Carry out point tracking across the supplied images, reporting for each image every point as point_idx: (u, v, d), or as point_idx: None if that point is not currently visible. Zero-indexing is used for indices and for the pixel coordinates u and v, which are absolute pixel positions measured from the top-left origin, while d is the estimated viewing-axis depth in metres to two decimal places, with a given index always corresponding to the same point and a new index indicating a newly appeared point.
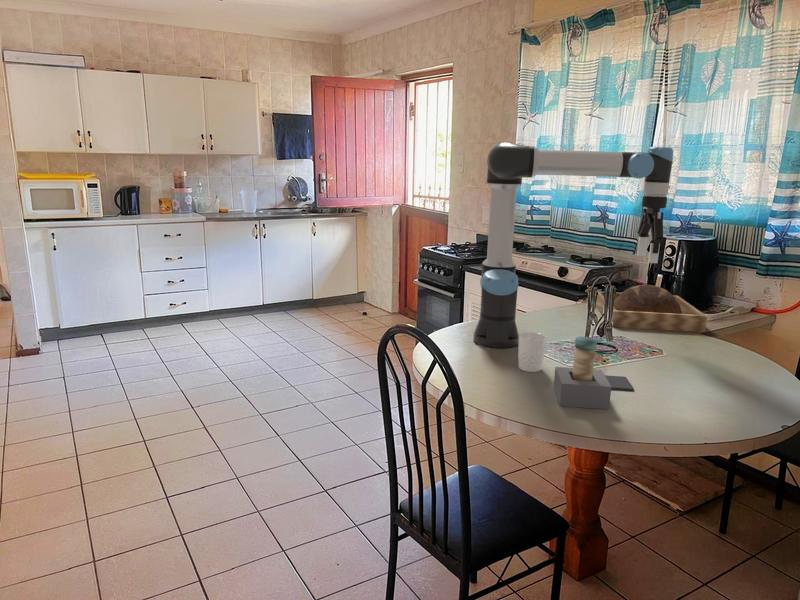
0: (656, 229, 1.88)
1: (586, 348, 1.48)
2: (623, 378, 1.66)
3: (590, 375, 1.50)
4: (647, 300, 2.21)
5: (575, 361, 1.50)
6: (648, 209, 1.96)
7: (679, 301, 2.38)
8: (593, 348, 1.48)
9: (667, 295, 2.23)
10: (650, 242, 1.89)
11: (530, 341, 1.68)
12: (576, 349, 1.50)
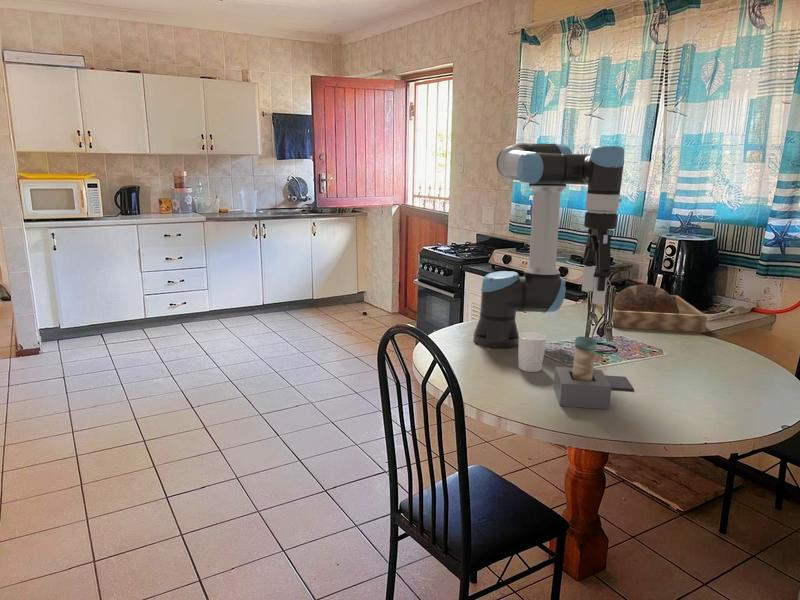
0: (601, 258, 1.37)
1: (586, 348, 1.48)
2: (623, 378, 1.66)
3: (590, 375, 1.50)
4: (644, 300, 2.21)
5: (575, 361, 1.50)
6: (593, 230, 1.45)
7: (679, 301, 2.38)
8: (593, 348, 1.48)
9: (664, 295, 2.23)
10: (593, 276, 1.38)
11: (530, 341, 1.68)
12: (576, 349, 1.50)
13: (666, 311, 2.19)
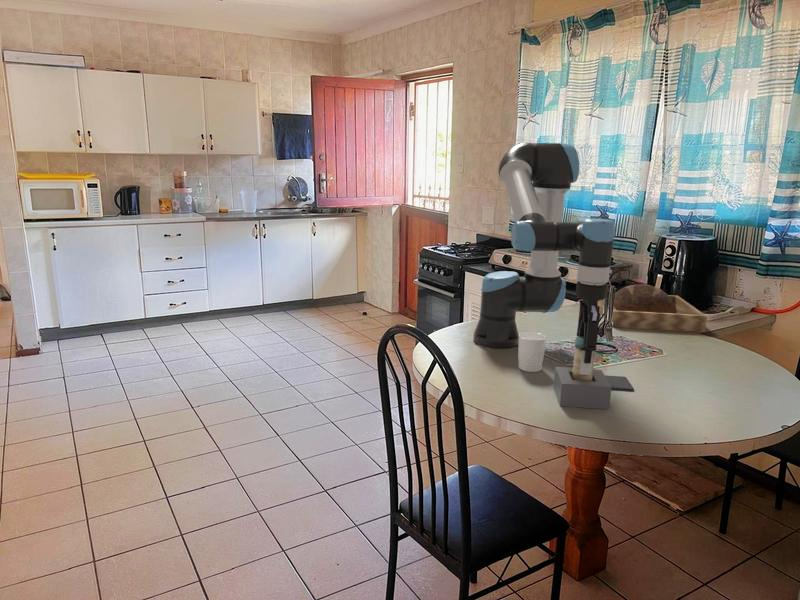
0: (588, 335, 1.43)
1: None
2: (623, 378, 1.66)
3: (590, 375, 1.50)
4: (641, 300, 2.22)
5: (575, 361, 1.50)
6: None
7: (679, 301, 2.38)
8: None
9: (661, 294, 2.24)
10: None
11: (530, 341, 1.68)
12: (576, 349, 1.50)
13: (663, 311, 2.19)
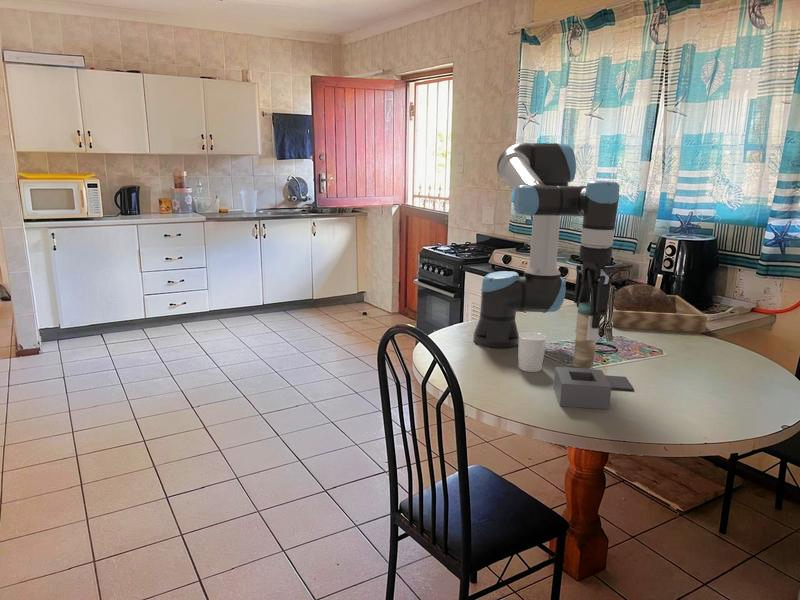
0: (600, 299, 1.41)
1: None
2: (623, 378, 1.66)
3: (595, 340, 1.48)
4: (640, 300, 2.22)
5: (580, 328, 1.48)
6: None
7: (679, 301, 2.38)
8: None
9: (660, 294, 2.24)
10: (589, 315, 1.44)
11: (530, 341, 1.68)
12: (581, 315, 1.47)
13: (661, 311, 2.19)
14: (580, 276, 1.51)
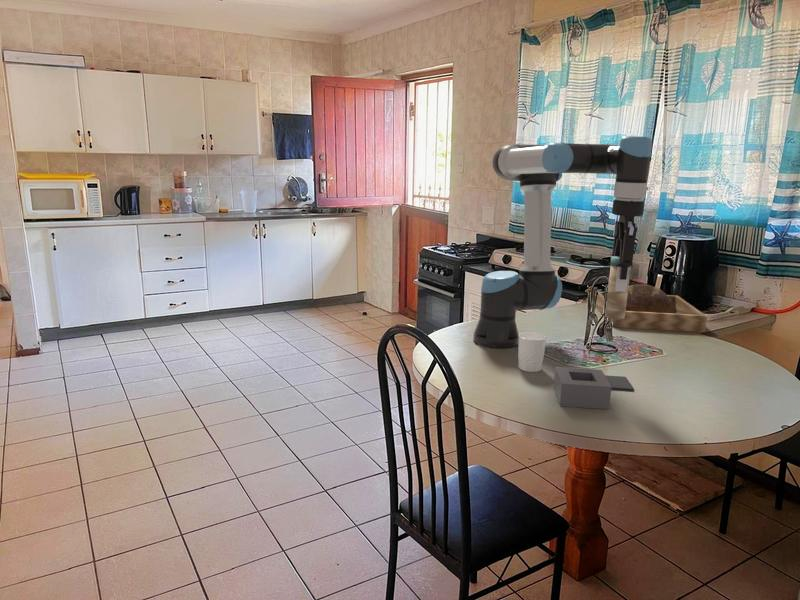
0: (625, 250, 1.47)
1: None
2: (623, 378, 1.66)
3: (625, 293, 1.53)
4: (640, 300, 2.22)
5: (610, 279, 1.54)
6: None
7: (679, 301, 2.38)
8: None
9: (660, 294, 2.24)
10: (616, 266, 1.50)
11: (530, 341, 1.68)
12: (612, 267, 1.53)
13: (662, 311, 2.19)
14: None
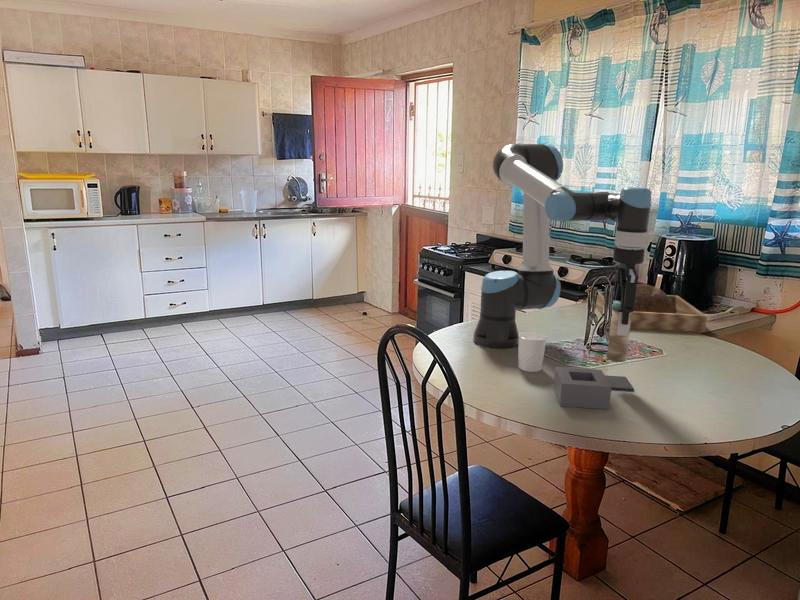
0: (627, 297, 1.52)
1: None
2: (623, 378, 1.66)
3: (627, 336, 1.58)
4: (640, 300, 2.22)
5: (612, 323, 1.59)
6: None
7: (679, 301, 2.38)
8: None
9: (660, 294, 2.24)
10: (618, 311, 1.55)
11: (530, 341, 1.68)
12: (613, 312, 1.58)
13: (662, 311, 2.19)
14: None
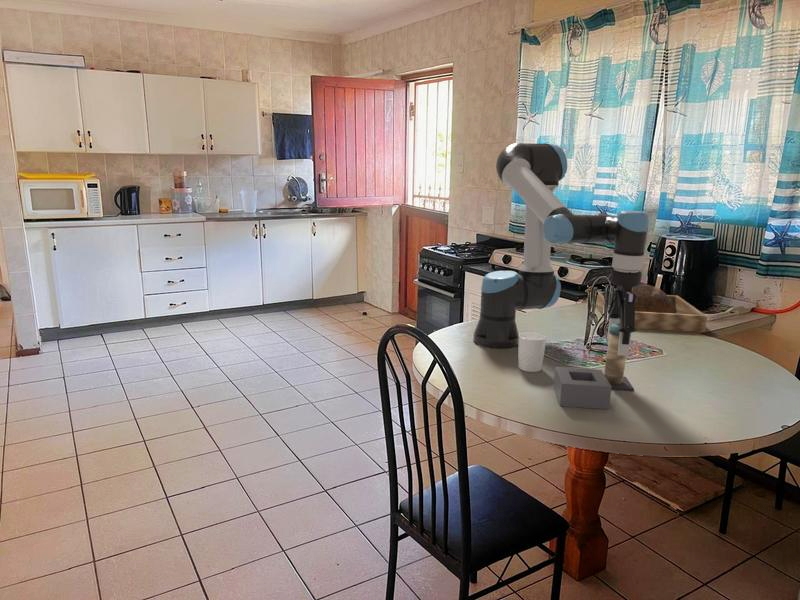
0: (626, 316, 1.51)
1: None
2: (623, 378, 1.66)
3: (623, 360, 1.60)
4: (640, 300, 2.22)
5: (609, 346, 1.61)
6: None
7: (679, 301, 2.38)
8: None
9: (660, 294, 2.24)
10: (619, 331, 1.53)
11: (530, 341, 1.68)
12: (611, 335, 1.60)
13: (662, 311, 2.19)
14: (615, 293, 1.64)
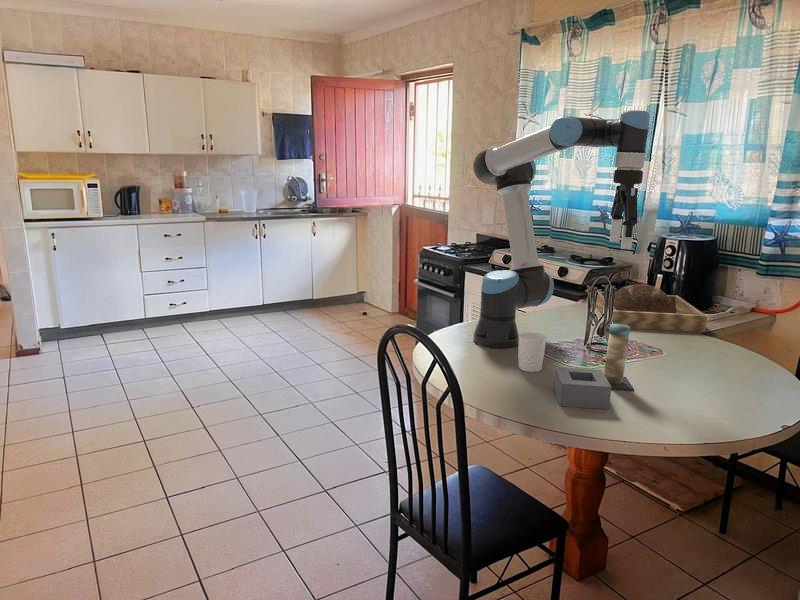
0: (629, 208, 1.57)
1: (620, 334, 1.58)
2: (623, 378, 1.66)
3: (623, 360, 1.60)
4: (640, 300, 2.22)
5: (609, 346, 1.61)
6: (621, 186, 1.66)
7: (679, 301, 2.38)
8: (627, 334, 1.58)
9: (660, 294, 2.24)
10: (622, 224, 1.59)
11: (530, 341, 1.68)
12: (610, 335, 1.60)
13: (662, 311, 2.19)
14: None
